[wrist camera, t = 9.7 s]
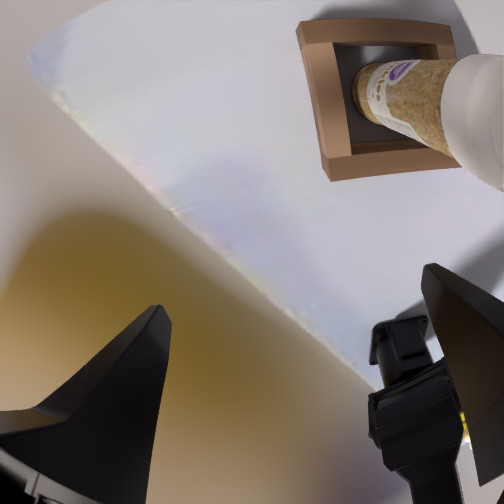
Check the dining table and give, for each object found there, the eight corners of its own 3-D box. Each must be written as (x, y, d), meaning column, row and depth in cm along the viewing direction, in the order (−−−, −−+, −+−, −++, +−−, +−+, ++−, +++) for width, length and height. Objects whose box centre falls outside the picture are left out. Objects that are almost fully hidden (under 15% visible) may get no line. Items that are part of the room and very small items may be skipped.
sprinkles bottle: (367, 51, 15) (502, 25, 4) (419, 87, 16) (567, 122, 4) (338, 103, 17) (448, 142, 6) (391, 137, 18) (521, 220, 7)
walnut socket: (443, 155, 18) (463, 167, 16) (322, 168, 20) (330, 181, 17) (428, 30, 13) (449, 25, 11) (295, 30, 15) (300, 21, 12)
